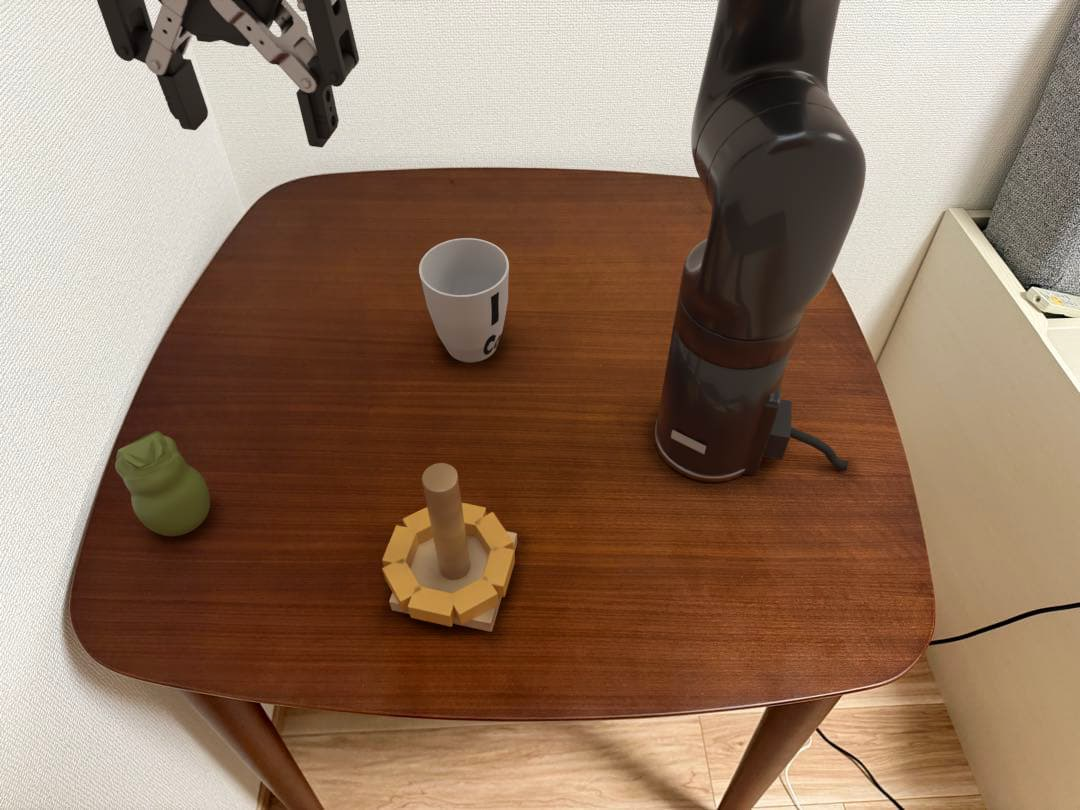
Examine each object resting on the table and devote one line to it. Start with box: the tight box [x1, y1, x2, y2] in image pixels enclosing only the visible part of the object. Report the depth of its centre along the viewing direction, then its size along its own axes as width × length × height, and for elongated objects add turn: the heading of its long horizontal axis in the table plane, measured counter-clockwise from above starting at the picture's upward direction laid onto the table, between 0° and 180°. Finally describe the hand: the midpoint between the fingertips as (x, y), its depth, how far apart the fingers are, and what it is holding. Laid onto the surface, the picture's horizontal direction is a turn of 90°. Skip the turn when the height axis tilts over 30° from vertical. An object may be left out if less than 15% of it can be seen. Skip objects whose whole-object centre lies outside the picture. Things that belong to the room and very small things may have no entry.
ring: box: [381, 502, 516, 628], centre depth 63 cm, size 10×10×2 cm
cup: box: [418, 237, 510, 363], centre depth 78 cm, size 8×8×10 cm
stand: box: [388, 462, 518, 633], centre depth 60 cm, size 8×8×14 cm
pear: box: [114, 430, 211, 537], centre depth 65 cm, size 6×5×10 cm
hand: (258, 131), depth 51 cm, fingers open, 8 cm apart
